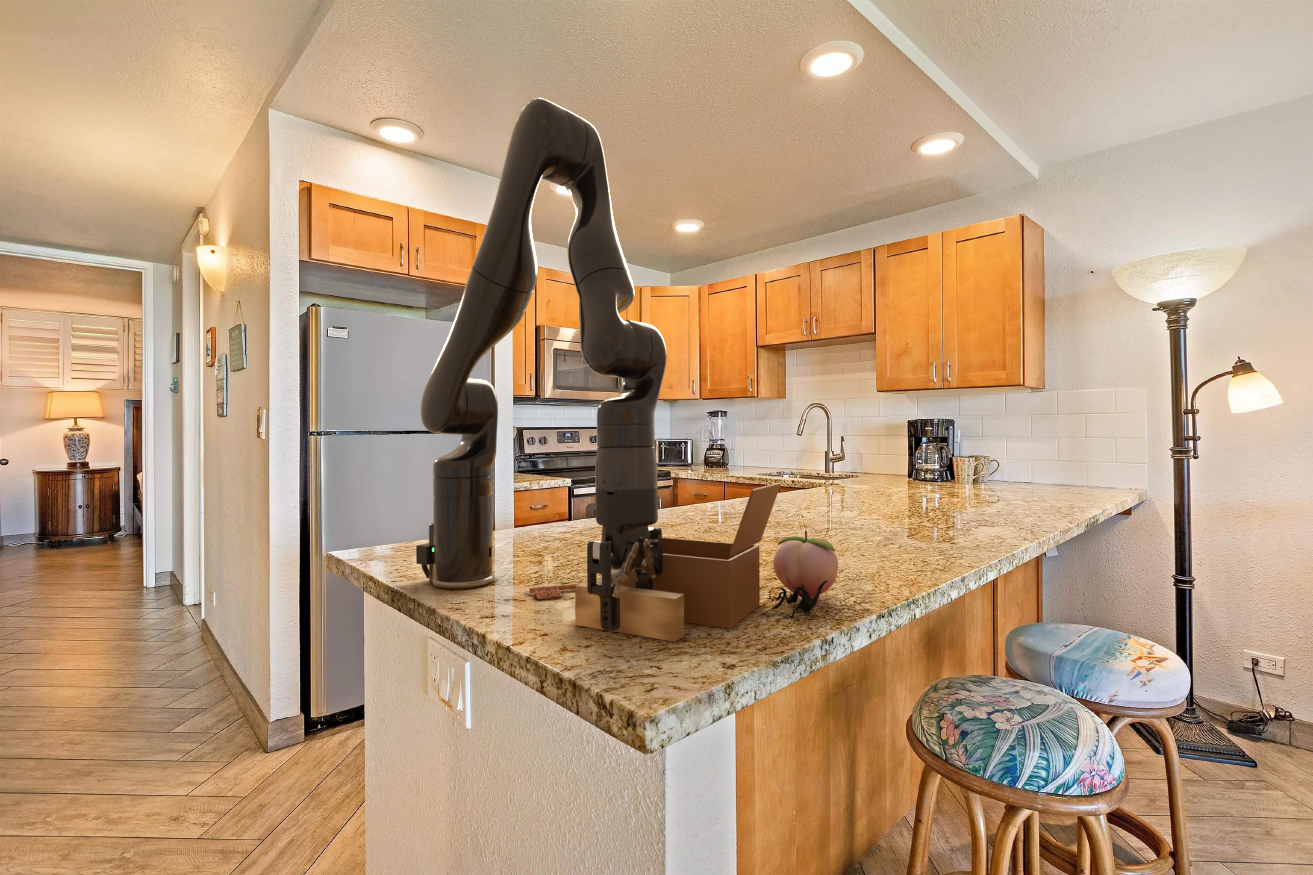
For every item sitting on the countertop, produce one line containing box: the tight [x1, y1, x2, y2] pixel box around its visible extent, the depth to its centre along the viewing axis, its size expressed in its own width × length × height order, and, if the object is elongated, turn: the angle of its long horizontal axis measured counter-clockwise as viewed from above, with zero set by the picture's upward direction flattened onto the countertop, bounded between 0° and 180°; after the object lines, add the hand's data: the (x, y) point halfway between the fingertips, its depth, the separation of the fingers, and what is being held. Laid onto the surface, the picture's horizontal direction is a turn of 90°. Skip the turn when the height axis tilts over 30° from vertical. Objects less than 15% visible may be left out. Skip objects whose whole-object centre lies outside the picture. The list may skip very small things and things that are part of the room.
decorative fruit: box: [772, 530, 839, 599], centre depth 89 cm, size 9×8×10 cm
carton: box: [600, 525, 761, 630], centre depth 85 cm, size 19×12×17 cm, turn 63°
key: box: [528, 581, 599, 600], centre depth 94 cm, size 6×1×15 cm
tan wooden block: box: [574, 581, 685, 643], centre depth 76 cm, size 14×2×5 cm, turn 63°
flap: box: [729, 482, 782, 556], centre depth 80 cm, size 9×12×1 cm
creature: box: [764, 577, 828, 619], centre depth 82 cm, size 8×5×8 cm
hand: (628, 620), depth 75 cm, fingers open, 7 cm apart
